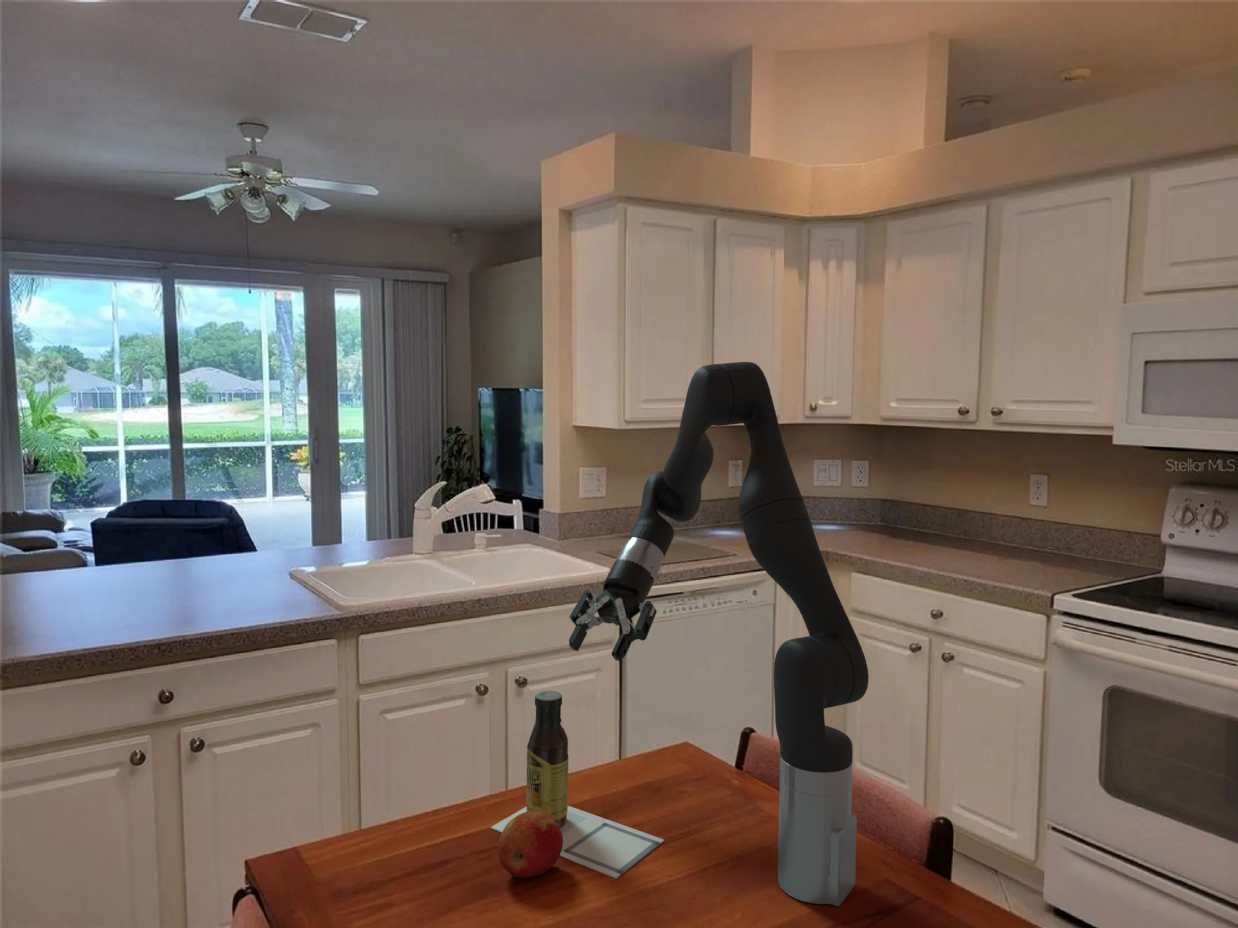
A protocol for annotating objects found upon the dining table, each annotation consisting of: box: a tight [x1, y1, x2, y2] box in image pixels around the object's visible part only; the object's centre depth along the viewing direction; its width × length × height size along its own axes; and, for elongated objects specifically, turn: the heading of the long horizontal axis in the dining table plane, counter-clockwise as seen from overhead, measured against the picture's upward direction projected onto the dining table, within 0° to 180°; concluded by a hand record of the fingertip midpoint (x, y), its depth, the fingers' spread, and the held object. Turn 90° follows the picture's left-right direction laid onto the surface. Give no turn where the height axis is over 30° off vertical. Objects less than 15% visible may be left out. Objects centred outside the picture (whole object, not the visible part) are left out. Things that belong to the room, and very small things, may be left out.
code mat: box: [490, 805, 665, 880], centre depth 124 cm, size 23×12×1 cm, turn 55°
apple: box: [497, 810, 563, 879], centre depth 113 cm, size 8×8×8 cm
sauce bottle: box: [526, 690, 569, 827], centre depth 126 cm, size 6×6×20 cm
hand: (593, 653), depth 135 cm, fingers open, 8 cm apart
